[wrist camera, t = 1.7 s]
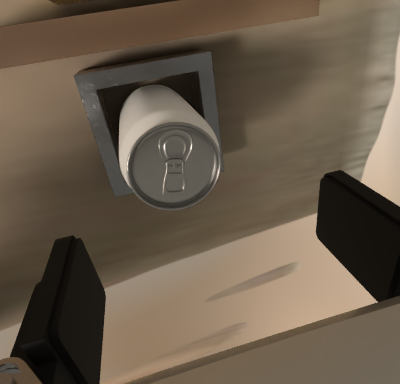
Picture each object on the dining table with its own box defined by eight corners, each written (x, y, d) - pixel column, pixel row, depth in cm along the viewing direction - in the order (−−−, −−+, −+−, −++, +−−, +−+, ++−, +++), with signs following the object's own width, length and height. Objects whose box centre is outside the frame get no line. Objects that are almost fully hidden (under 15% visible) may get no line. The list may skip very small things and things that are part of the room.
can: (190, 84, 26) (234, 114, 16) (187, 151, 29) (222, 212, 19) (117, 82, 25) (113, 113, 14) (121, 152, 28) (122, 220, 17)
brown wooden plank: (272, 20, 25) (318, 15, 19) (-16, 68, 22) (-68, 80, 16) (271, -7, 24) (320, -21, 18) (-30, 39, 21) (-91, 40, 15)
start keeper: (213, 158, 30) (224, 171, 27) (115, 180, 29) (115, 197, 26) (200, 49, 25) (211, 51, 22) (79, 70, 24) (73, 75, 21)
